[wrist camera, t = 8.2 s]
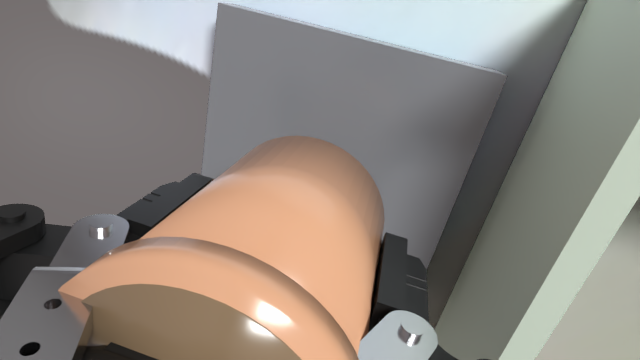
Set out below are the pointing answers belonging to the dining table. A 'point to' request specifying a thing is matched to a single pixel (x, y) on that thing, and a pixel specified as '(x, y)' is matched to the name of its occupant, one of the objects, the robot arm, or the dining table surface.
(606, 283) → the dining table surface
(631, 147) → the pale green open box
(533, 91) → the dining table surface
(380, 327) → the robot arm
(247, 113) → the slate board
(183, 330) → the terracotta pot
